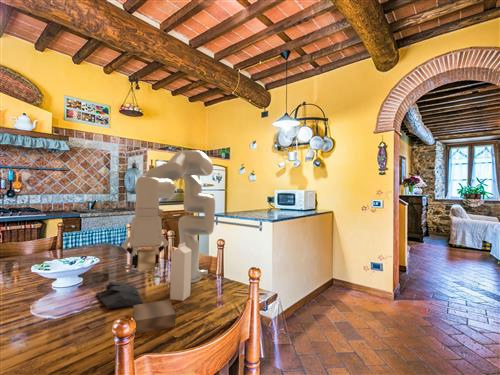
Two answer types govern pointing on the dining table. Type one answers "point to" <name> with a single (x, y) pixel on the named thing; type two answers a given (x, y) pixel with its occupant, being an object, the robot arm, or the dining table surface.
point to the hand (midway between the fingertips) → (145, 265)
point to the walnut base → (154, 316)
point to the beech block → (146, 260)
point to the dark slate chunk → (119, 295)
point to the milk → (180, 273)
